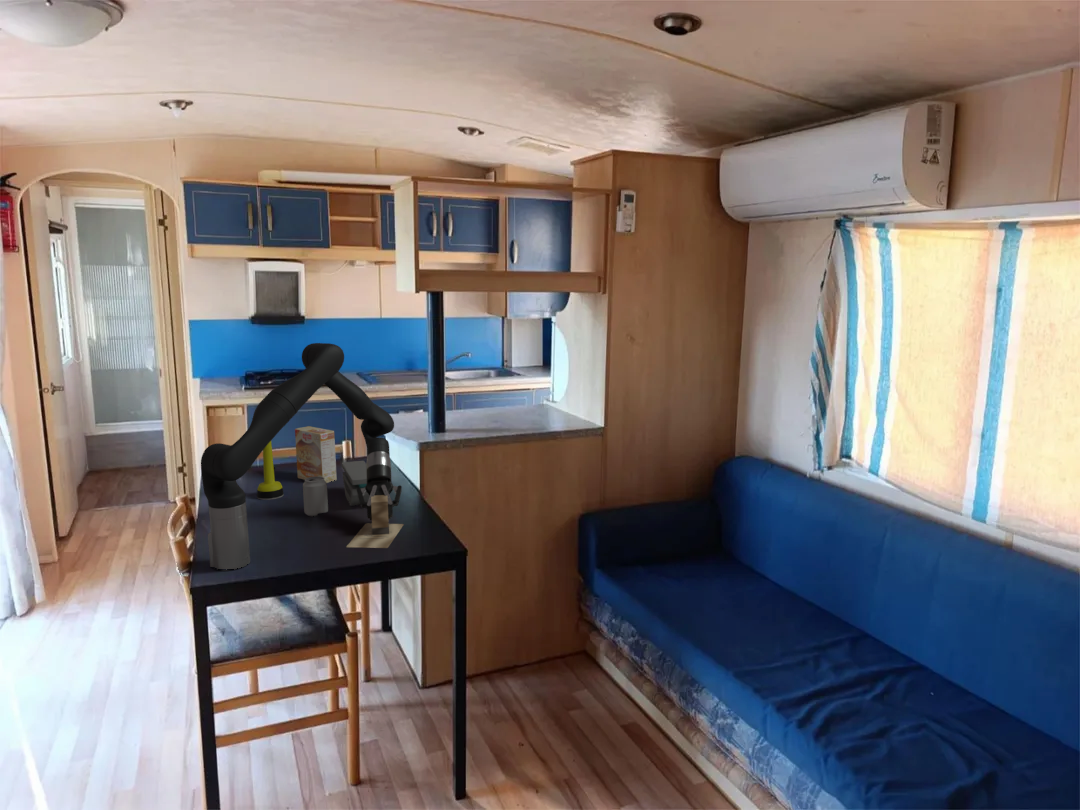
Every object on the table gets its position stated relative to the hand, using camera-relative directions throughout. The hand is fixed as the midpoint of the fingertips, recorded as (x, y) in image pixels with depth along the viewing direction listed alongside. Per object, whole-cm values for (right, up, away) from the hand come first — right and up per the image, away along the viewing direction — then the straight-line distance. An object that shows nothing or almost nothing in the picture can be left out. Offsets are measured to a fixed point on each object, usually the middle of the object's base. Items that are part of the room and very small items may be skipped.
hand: (380, 518), depth 220 cm
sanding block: (0, -4, +2) cm, 5 cm away
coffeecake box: (-37, +5, +61) cm, 72 cm away
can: (-25, -2, +21) cm, 33 cm away
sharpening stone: (-15, +1, +35) cm, 38 cm away
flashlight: (-48, +2, +40) cm, 62 cm away
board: (-1, -6, -2) cm, 6 cm away
